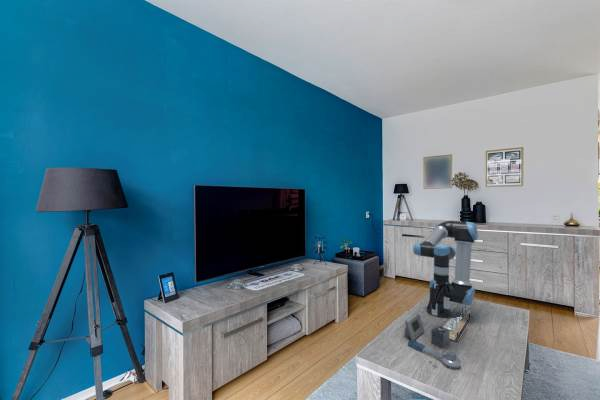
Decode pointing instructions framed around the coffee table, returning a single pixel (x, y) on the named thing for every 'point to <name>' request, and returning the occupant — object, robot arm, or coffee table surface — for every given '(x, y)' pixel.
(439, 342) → the socket
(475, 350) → the coffee table surface
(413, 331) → the digital clock
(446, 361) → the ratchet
